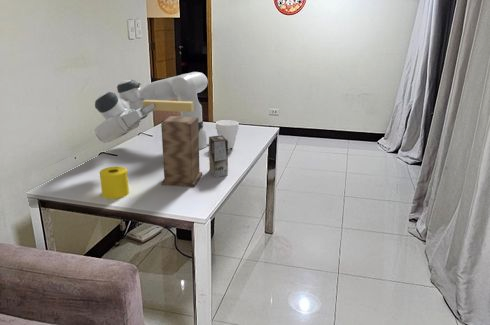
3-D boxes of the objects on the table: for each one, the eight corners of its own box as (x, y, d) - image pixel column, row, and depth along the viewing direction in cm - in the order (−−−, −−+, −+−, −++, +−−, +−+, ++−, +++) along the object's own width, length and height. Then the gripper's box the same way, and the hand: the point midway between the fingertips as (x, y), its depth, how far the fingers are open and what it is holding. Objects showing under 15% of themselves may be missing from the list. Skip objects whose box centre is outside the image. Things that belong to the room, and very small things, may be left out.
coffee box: (228, 175, 177) (228, 140, 172) (214, 177, 175) (214, 141, 170) (222, 168, 185) (222, 135, 180) (208, 170, 183) (208, 136, 178)
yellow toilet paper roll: (113, 187, 163) (111, 165, 160) (134, 190, 160) (132, 168, 157) (96, 196, 154) (93, 173, 151) (117, 200, 151) (115, 177, 148)
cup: (239, 144, 222) (240, 120, 217) (237, 151, 210) (237, 125, 206) (217, 143, 223) (217, 119, 218) (213, 150, 211) (213, 125, 207)
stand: (161, 184, 166) (157, 123, 157) (171, 172, 179) (168, 115, 171) (194, 186, 164) (192, 124, 156) (202, 174, 178) (201, 116, 169)
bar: (143, 109, 162) (142, 101, 161) (146, 108, 165) (145, 99, 164) (191, 112, 160) (191, 103, 158) (193, 110, 163) (193, 101, 162)
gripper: (142, 120, 176) (168, 105, 173) (123, 132, 157) (151, 116, 154) (134, 107, 175) (160, 92, 171) (114, 118, 156) (142, 101, 152)
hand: (156, 103), depth 162 cm, fingers closed on bar, 3 cm apart
